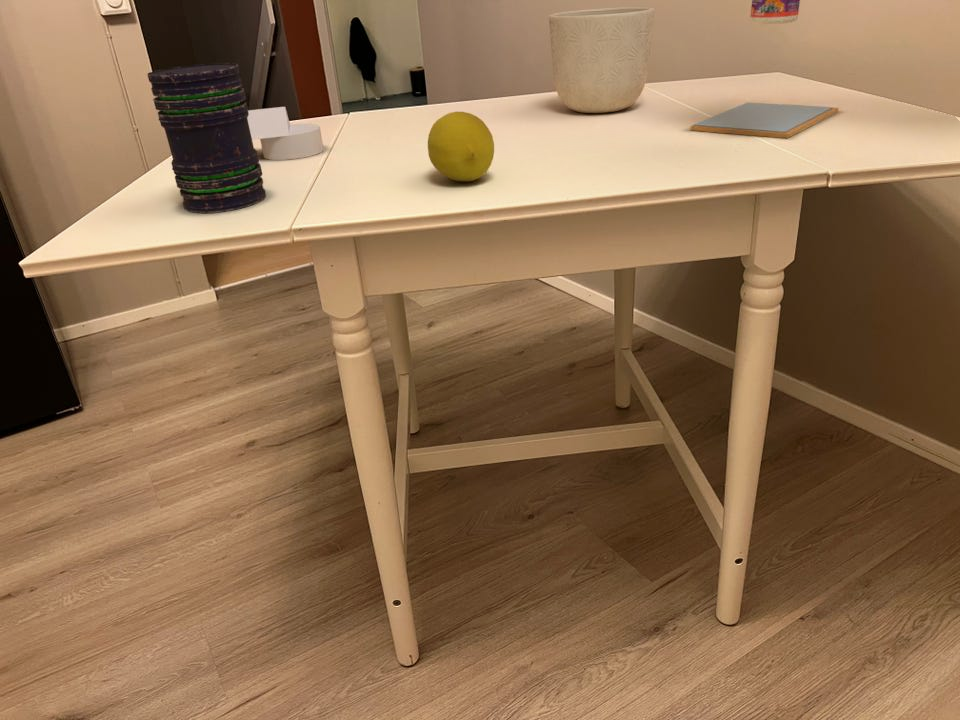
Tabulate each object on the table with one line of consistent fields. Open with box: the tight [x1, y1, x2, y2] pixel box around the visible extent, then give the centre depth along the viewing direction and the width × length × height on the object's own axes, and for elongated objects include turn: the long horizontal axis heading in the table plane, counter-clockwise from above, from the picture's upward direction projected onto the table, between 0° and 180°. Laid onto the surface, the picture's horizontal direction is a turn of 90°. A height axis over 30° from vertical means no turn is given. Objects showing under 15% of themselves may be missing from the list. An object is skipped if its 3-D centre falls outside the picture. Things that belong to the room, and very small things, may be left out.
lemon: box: [427, 111, 495, 182], centre depth 85 cm, size 11×8×8 cm
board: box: [690, 102, 839, 139], centre depth 105 cm, size 14×20×1 cm
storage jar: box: [146, 62, 267, 214], centre depth 82 cm, size 10×10×15 cm
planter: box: [548, 6, 655, 114], centre depth 119 cm, size 17×17×15 cm
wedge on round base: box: [247, 106, 325, 161], centre depth 106 cm, size 9×7×13 cm
